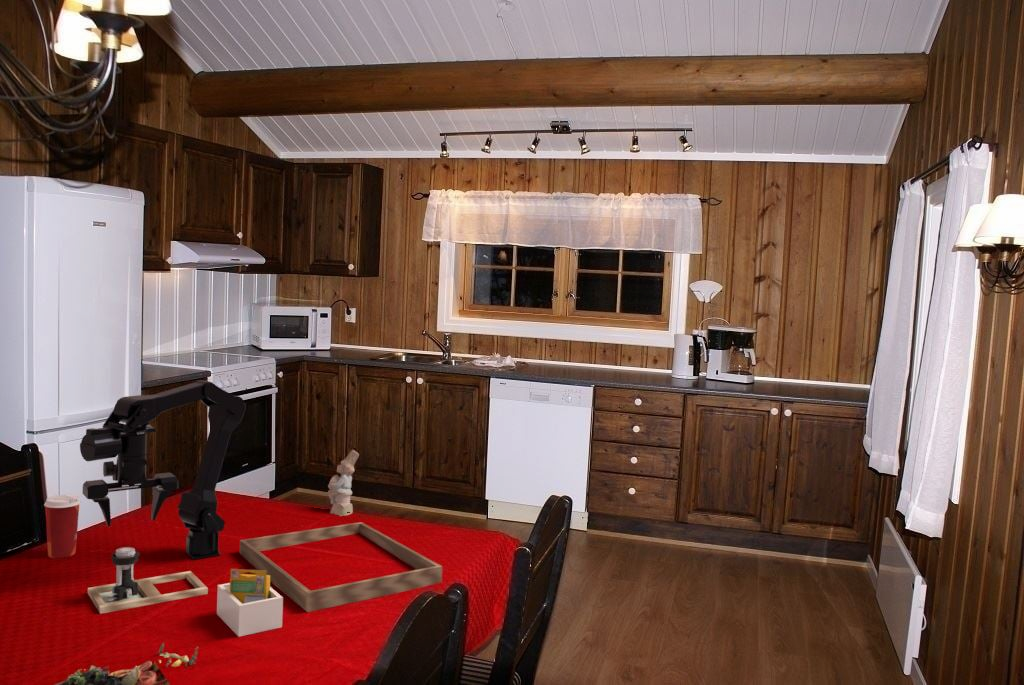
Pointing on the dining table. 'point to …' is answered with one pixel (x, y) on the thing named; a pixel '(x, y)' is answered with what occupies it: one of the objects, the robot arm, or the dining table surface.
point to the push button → (124, 573)
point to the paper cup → (62, 525)
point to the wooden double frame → (145, 593)
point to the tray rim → (344, 593)
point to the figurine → (342, 486)
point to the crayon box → (249, 585)
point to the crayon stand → (249, 612)
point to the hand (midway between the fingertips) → (131, 523)
